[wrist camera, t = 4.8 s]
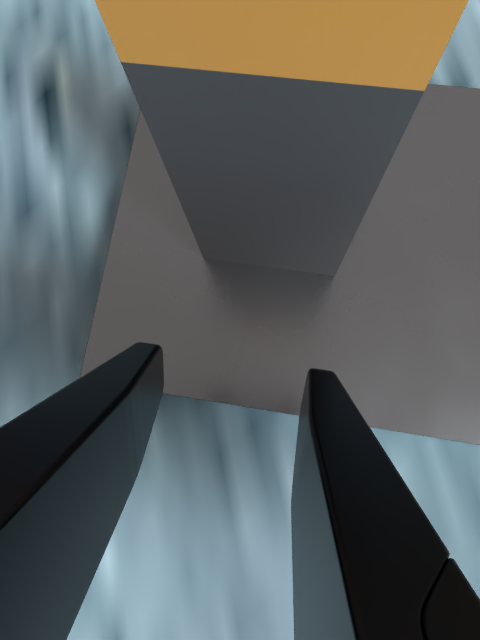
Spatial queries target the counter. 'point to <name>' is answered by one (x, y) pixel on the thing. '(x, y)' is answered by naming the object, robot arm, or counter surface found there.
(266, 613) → the counter surface
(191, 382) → the breaker strip
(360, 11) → the block
